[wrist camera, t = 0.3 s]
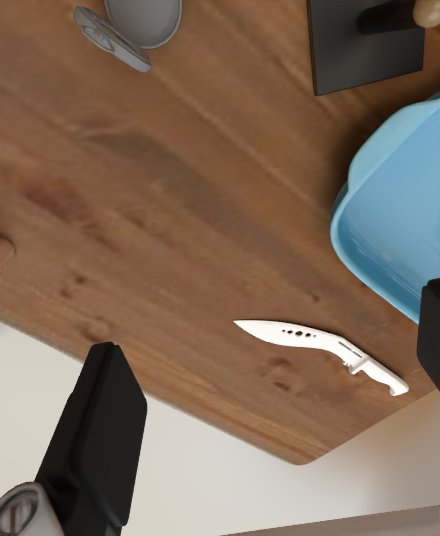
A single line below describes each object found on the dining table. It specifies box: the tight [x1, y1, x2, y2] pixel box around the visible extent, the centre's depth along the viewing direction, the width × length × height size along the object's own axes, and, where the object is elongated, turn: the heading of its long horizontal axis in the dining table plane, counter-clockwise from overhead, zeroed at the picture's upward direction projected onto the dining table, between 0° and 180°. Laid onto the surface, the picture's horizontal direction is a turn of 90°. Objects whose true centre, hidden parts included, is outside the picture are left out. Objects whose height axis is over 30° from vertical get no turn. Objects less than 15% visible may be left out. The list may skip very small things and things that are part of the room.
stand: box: [306, 0, 440, 96], centre depth 27 cm, size 10×10×13 cm
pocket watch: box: [73, 0, 182, 73], centre depth 27 cm, size 8×8×10 cm
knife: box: [234, 320, 409, 396], centre depth 53 cm, size 30×2×8 cm
